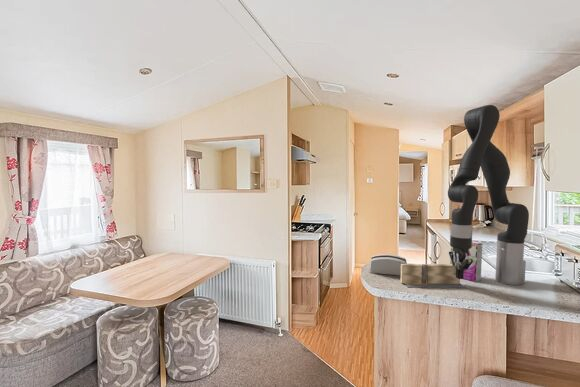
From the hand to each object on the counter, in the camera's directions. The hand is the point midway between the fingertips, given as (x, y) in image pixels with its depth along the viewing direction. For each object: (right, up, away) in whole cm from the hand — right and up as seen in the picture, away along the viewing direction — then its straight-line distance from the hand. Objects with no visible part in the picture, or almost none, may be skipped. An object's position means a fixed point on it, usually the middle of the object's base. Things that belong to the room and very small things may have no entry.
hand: (459, 278), depth 122 cm
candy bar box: (+9, -3, +12) cm, 16 cm away
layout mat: (-8, -3, +11) cm, 14 cm away
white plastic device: (-23, -3, +17) cm, 29 cm away
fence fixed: (-16, -4, +5) cm, 17 cm away
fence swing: (-4, -3, +5) cm, 7 cm away
